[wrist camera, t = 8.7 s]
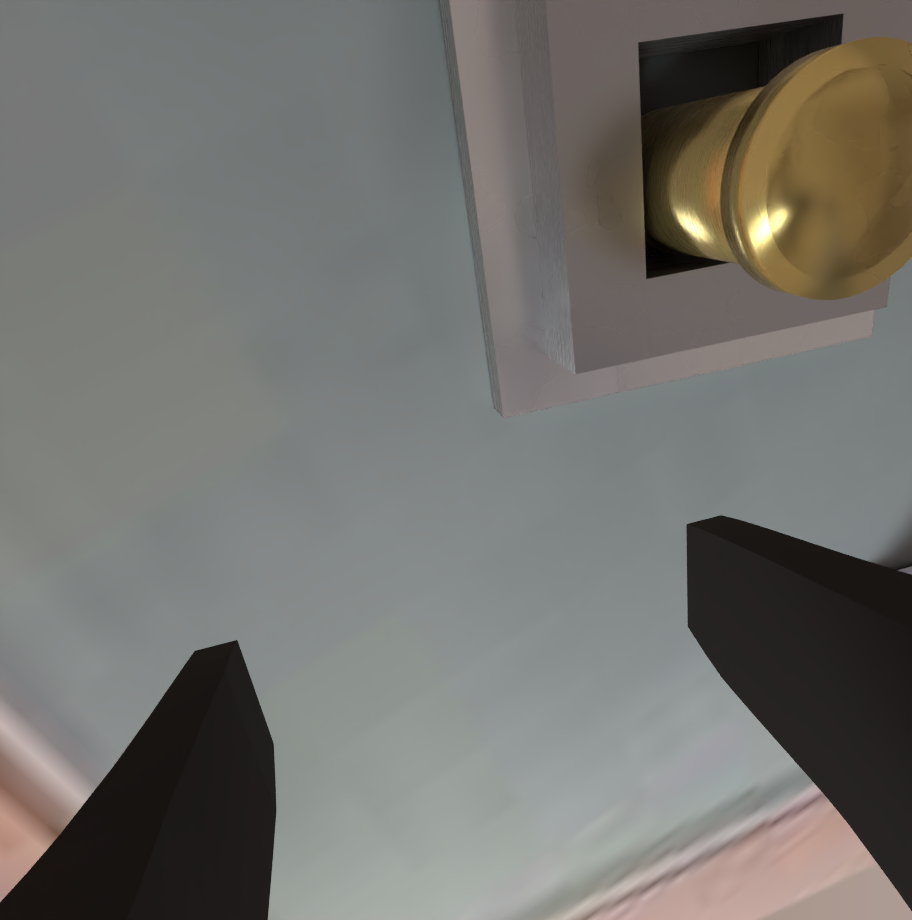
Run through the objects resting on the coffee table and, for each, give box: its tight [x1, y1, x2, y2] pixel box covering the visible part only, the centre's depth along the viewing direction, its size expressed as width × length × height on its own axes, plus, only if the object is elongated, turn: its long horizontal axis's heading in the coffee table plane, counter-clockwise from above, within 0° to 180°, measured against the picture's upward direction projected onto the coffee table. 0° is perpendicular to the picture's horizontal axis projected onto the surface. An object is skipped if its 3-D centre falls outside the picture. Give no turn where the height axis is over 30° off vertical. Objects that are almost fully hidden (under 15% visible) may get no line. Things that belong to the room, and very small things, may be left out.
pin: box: [641, 37, 912, 300], centre depth 15 cm, size 4×4×7 cm
